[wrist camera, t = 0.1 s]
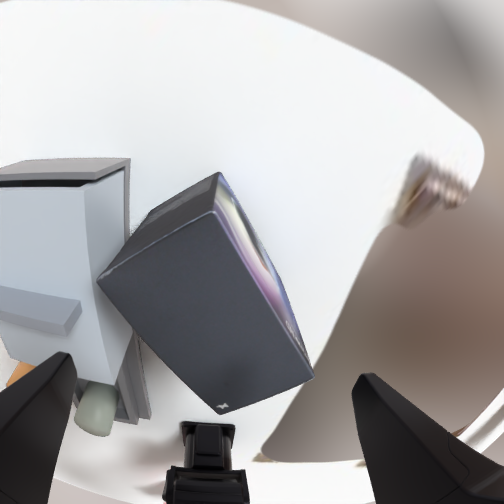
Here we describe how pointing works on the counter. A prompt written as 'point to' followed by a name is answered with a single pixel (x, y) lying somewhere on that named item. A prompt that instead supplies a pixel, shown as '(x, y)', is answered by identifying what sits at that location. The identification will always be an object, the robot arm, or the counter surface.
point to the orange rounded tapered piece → (20, 372)
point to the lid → (62, 274)
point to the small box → (209, 299)
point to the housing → (131, 372)
